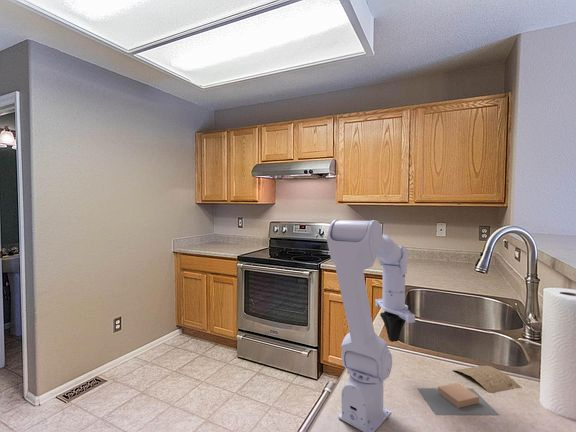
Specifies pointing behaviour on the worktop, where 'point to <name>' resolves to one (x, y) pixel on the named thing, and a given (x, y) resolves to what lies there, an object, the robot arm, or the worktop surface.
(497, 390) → the clay tablet
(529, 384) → the worktop surface
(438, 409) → the mat
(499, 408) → the worktop surface
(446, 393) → the tile
